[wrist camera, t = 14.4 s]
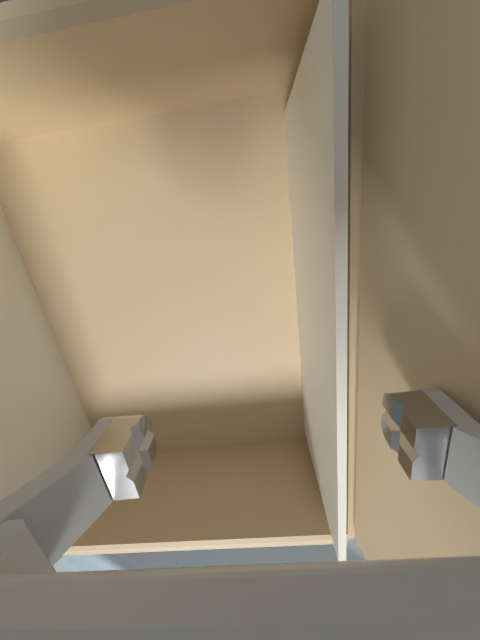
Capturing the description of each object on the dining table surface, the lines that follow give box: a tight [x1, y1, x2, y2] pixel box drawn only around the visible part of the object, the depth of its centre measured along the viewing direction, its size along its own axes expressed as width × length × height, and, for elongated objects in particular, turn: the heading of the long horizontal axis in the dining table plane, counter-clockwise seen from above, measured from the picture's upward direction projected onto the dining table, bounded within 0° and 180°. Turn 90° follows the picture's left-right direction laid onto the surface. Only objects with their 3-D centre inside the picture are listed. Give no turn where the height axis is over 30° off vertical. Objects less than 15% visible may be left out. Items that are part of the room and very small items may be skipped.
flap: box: [355, 0, 480, 560], centre depth 9 cm, size 24×1×6 cm, turn 8°
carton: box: [0, 0, 366, 561], centre depth 16 cm, size 27×22×10 cm
